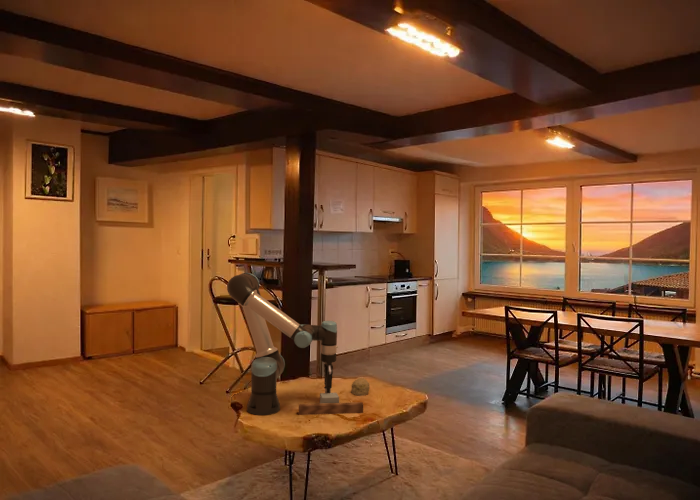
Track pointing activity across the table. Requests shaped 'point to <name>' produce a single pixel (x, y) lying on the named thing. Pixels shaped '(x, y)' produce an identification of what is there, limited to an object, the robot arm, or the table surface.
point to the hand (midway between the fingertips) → (327, 400)
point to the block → (329, 398)
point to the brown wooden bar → (330, 408)
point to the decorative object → (360, 387)
